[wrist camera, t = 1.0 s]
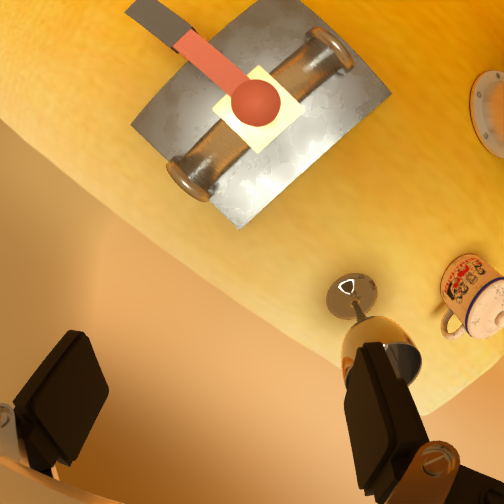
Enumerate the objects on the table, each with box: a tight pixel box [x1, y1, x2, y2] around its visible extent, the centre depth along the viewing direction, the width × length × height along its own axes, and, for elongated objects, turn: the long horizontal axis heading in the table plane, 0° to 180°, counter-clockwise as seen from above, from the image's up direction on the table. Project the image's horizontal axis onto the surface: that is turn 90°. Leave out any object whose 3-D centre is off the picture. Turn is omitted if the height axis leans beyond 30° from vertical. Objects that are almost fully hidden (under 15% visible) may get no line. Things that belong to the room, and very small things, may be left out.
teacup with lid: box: [441, 254, 504, 340], centre depth 33 cm, size 12×9×12 cm
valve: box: [131, 0, 392, 230], centre depth 27 cm, size 24×18×10 cm
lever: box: [124, 0, 281, 127], centre depth 20 cm, size 16×4×2 cm, turn 44°
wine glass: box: [327, 274, 422, 389], centre depth 33 cm, size 8×8×15 cm
